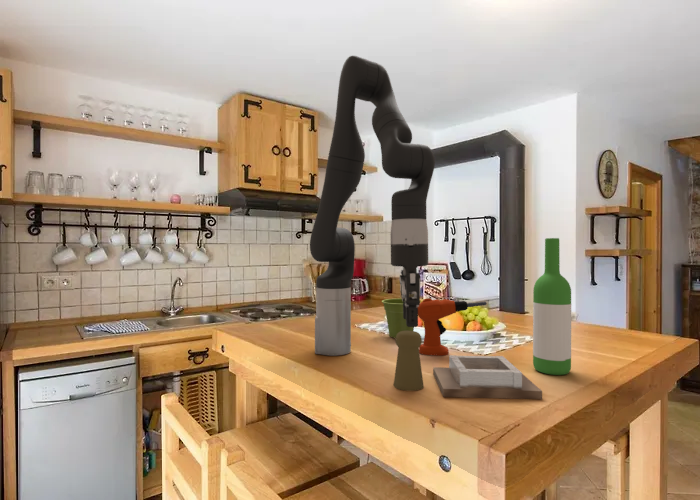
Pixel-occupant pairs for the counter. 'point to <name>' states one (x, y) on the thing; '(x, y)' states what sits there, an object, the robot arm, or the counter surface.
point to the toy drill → (438, 322)
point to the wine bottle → (552, 316)
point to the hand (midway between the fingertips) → (410, 322)
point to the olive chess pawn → (408, 362)
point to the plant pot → (395, 316)
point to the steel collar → (485, 372)
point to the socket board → (452, 388)
